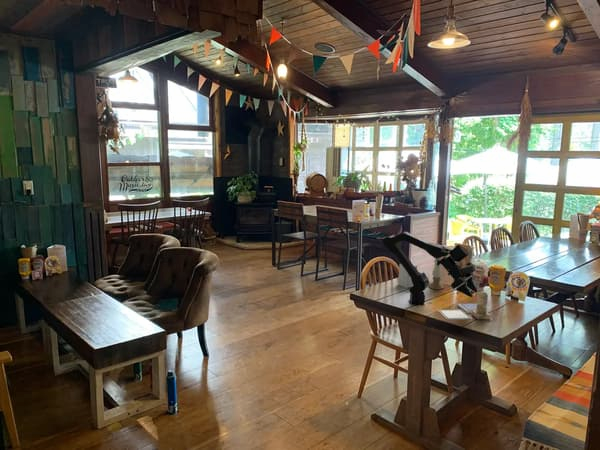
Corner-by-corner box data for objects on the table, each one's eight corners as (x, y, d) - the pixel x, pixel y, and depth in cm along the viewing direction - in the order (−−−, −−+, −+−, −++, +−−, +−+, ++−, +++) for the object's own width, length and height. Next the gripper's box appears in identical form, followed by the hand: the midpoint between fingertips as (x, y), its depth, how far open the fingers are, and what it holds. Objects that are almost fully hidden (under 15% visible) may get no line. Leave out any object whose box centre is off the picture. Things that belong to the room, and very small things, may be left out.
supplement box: (406, 288, 247) (407, 266, 245) (397, 284, 254) (399, 263, 252) (416, 286, 251) (417, 265, 249) (407, 283, 257) (409, 262, 255)
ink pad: (467, 313, 210) (467, 310, 210) (458, 306, 220) (458, 303, 220) (487, 313, 211) (487, 310, 211) (477, 306, 221) (477, 303, 221)
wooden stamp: (477, 320, 202) (480, 293, 200) (471, 315, 208) (473, 289, 206) (490, 320, 203) (492, 293, 201) (483, 315, 209) (486, 289, 207)
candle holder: (425, 285, 255) (428, 250, 251) (440, 284, 256) (442, 250, 252) (431, 289, 246) (434, 254, 243) (446, 289, 247) (449, 254, 244)
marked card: (447, 319, 202) (447, 318, 202) (437, 310, 214) (437, 309, 214) (472, 319, 203) (472, 318, 203) (460, 310, 215) (460, 309, 215)
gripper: (460, 261, 198) (483, 289, 194) (470, 254, 214) (492, 280, 209) (441, 275, 204) (464, 303, 200) (452, 267, 219) (473, 292, 215)
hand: (474, 294), depth 206 cm, fingers open, 9 cm apart
